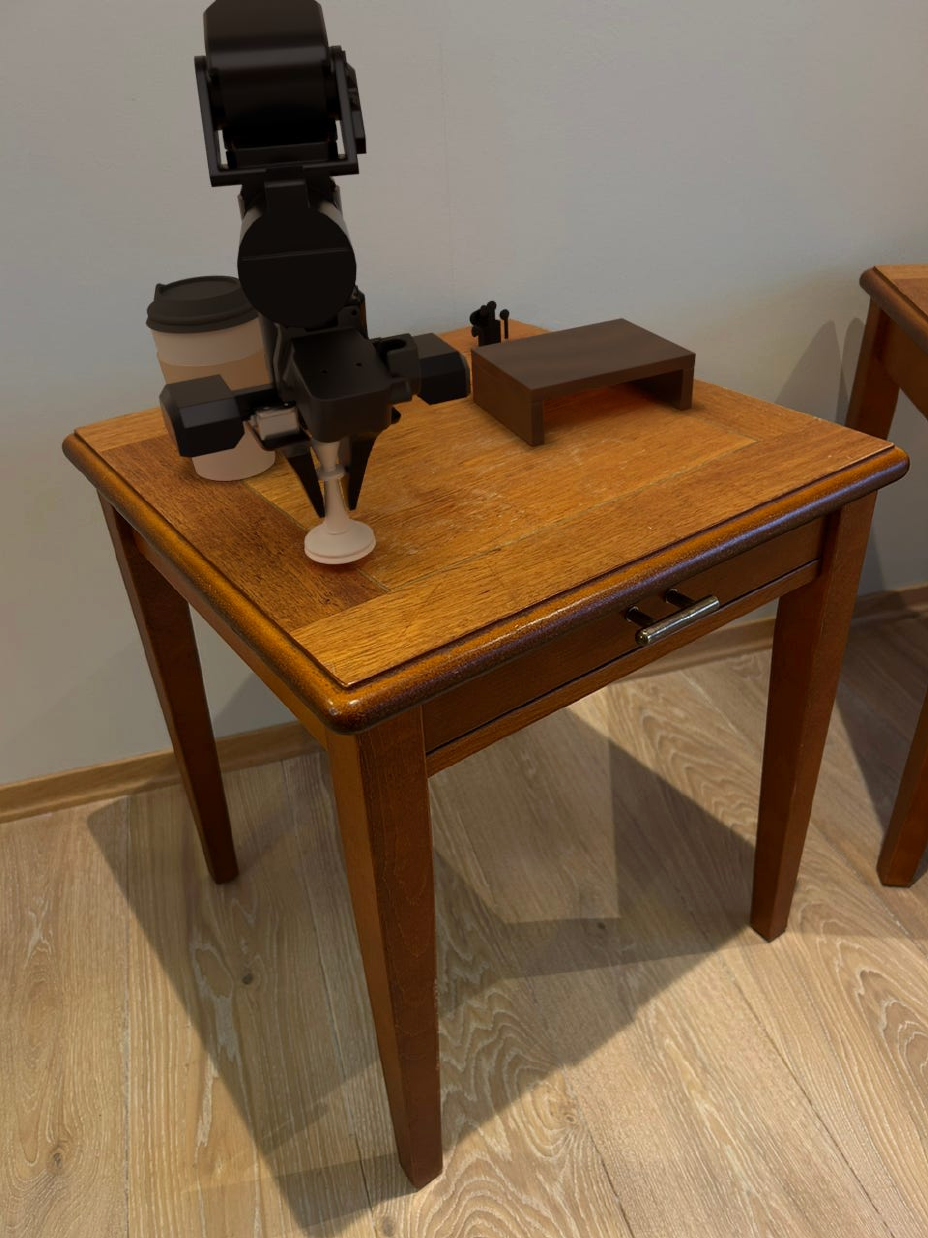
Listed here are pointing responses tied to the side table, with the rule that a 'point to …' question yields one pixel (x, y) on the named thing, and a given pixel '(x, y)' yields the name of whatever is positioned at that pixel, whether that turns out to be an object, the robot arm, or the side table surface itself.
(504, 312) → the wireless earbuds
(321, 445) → the chess piece
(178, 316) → the coffee cup
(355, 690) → the side table surface
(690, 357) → the shelf
